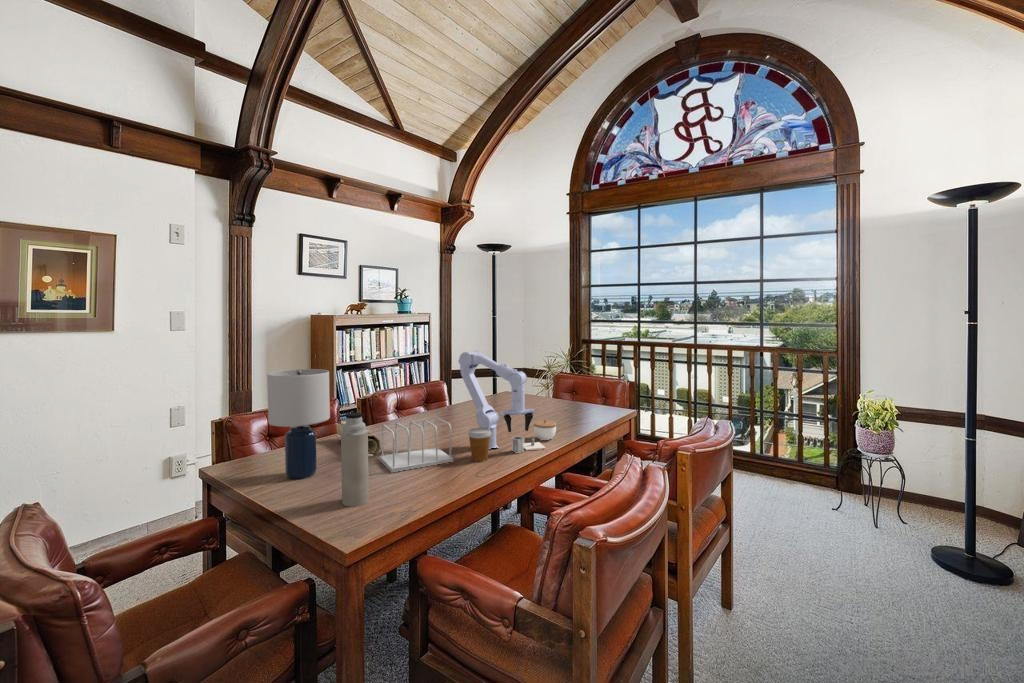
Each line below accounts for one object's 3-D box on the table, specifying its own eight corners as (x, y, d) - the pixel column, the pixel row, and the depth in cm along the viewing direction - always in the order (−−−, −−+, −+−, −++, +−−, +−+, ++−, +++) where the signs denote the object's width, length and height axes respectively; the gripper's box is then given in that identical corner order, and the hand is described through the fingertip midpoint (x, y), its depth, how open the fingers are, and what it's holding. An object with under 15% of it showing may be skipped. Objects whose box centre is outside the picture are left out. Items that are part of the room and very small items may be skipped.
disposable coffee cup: (464, 457, 186) (464, 429, 186) (485, 454, 191) (485, 426, 190) (473, 464, 178) (473, 434, 177) (495, 461, 182) (495, 431, 182)
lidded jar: (531, 441, 211) (531, 421, 211) (536, 435, 222) (536, 416, 221) (553, 443, 208) (553, 423, 208) (558, 437, 218) (558, 418, 218)
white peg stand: (526, 451, 195) (526, 442, 195) (520, 445, 204) (520, 436, 204) (545, 449, 198) (545, 440, 197) (539, 444, 206) (539, 435, 206)
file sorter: (391, 473, 168) (391, 432, 167) (379, 461, 183) (378, 423, 182) (453, 462, 181) (453, 424, 180) (437, 451, 196) (437, 416, 195)
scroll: (358, 433, 218) (350, 416, 215) (386, 449, 192) (377, 429, 189) (337, 445, 212) (329, 427, 209) (363, 464, 186) (354, 443, 183)
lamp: (274, 469, 172) (271, 368, 170) (331, 463, 179) (329, 366, 177) (266, 488, 153) (262, 374, 151) (330, 481, 160) (328, 372, 158)
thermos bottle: (347, 496, 146) (345, 411, 145) (371, 496, 146) (370, 411, 145) (338, 506, 138) (336, 416, 137) (364, 506, 139) (363, 416, 137)
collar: (513, 453, 192) (513, 440, 191) (510, 450, 197) (510, 436, 196) (525, 452, 193) (525, 439, 193) (522, 449, 198) (522, 436, 198)
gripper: (504, 402, 188) (504, 434, 188) (537, 400, 192) (537, 432, 192) (500, 399, 195) (500, 430, 195) (532, 397, 198) (531, 428, 199)
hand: (518, 431), depth 194 cm, fingers open, 7 cm apart
